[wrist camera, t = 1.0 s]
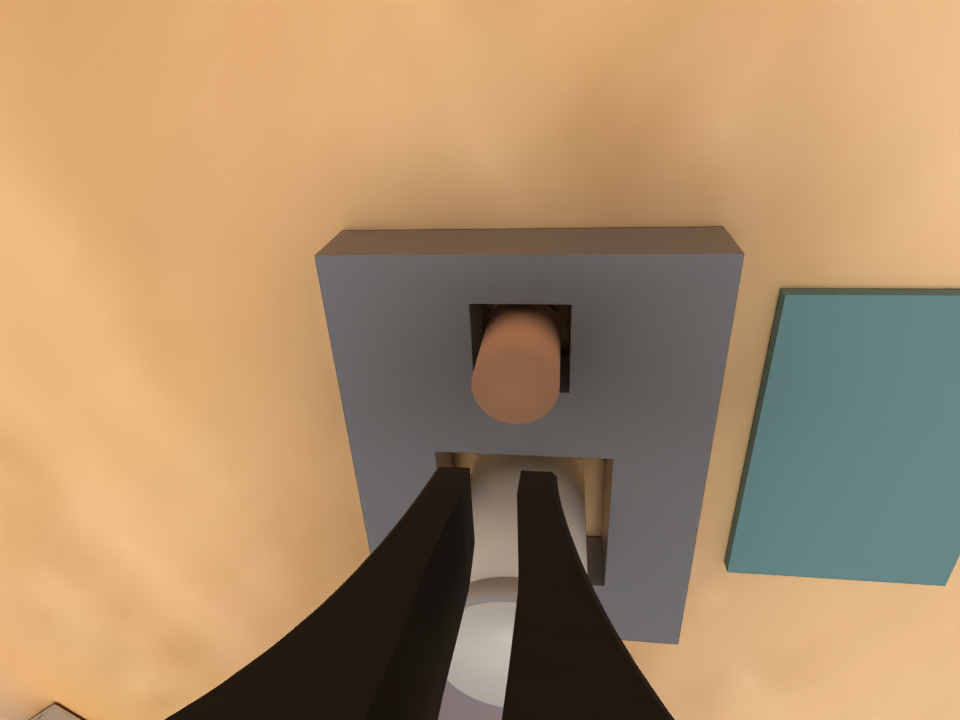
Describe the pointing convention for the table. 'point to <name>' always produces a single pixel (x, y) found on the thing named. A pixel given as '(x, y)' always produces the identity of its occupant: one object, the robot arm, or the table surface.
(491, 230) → the grey board with holes
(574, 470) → the filter cartridge
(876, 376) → the mat
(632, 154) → the table surface
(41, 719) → the skincare box
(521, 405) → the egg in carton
